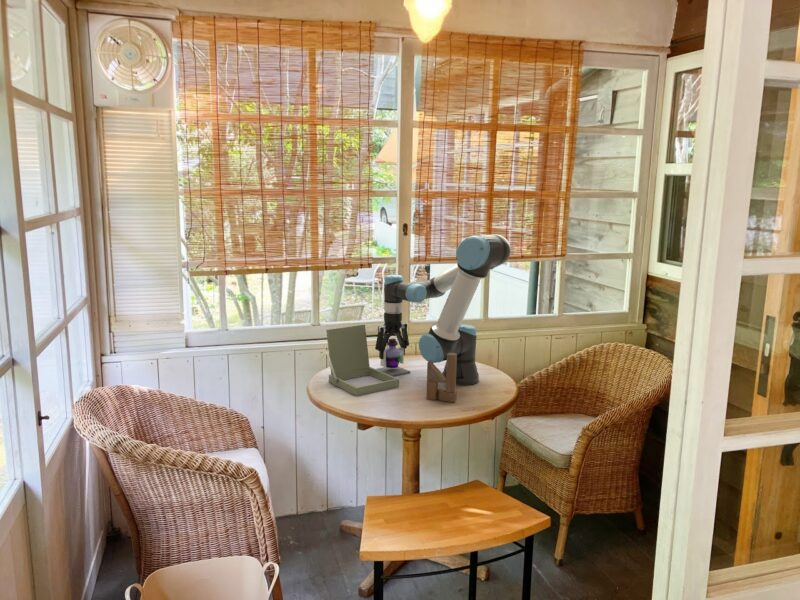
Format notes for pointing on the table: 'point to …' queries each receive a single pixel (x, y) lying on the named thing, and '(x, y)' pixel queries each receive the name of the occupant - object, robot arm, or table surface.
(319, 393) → the table surface
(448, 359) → the wooden block
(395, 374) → the pad
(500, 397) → the table surface
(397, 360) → the potion bottle
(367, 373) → the case
